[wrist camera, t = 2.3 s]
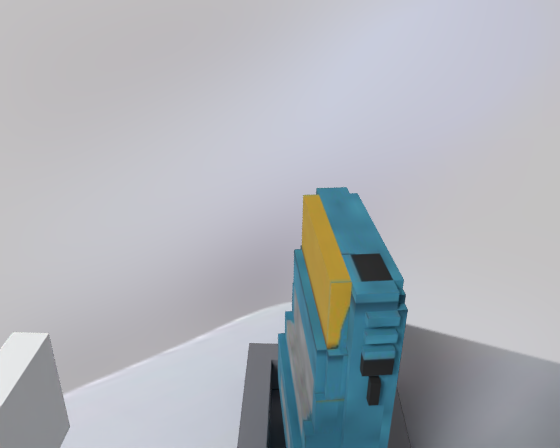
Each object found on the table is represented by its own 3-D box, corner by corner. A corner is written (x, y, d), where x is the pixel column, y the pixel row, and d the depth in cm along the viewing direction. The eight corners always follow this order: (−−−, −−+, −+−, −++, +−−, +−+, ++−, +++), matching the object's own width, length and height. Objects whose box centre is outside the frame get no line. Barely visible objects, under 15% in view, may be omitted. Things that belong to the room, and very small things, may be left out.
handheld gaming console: (381, 560, 25) (424, 297, 18) (294, 567, 24) (303, 303, 17) (341, 401, 33) (359, 183, 26) (276, 406, 33) (277, 186, 26)
